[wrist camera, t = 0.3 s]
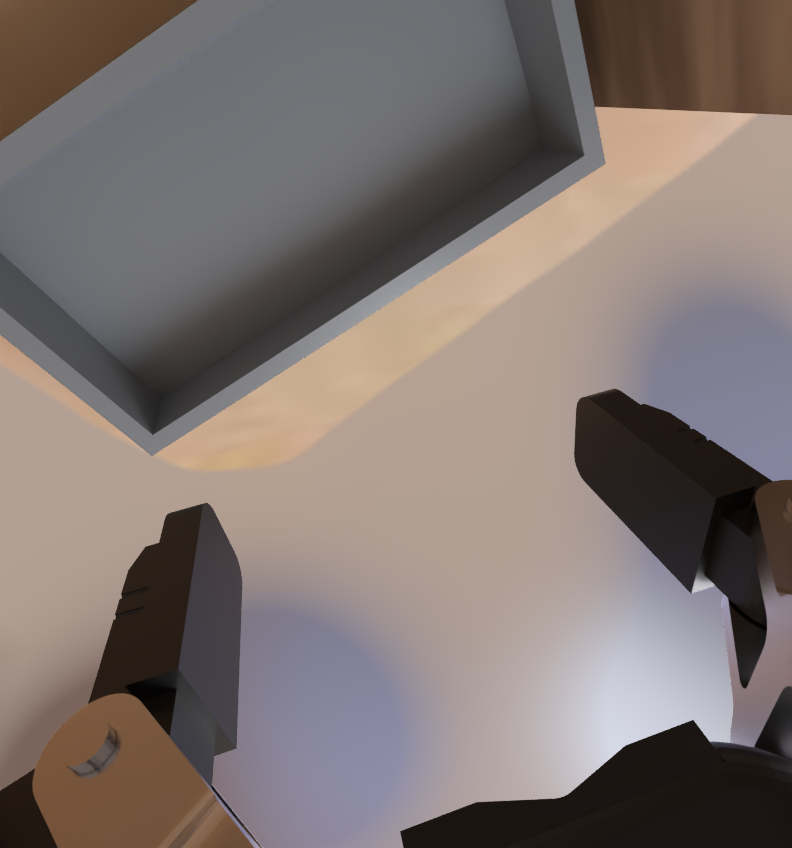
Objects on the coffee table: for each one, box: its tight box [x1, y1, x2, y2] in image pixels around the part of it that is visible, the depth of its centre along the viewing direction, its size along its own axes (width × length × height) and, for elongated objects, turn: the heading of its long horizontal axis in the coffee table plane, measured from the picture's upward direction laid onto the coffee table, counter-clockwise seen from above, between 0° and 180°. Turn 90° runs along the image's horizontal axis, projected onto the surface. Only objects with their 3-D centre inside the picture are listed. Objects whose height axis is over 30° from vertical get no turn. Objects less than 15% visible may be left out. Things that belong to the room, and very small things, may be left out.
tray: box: [0, 0, 605, 456], centre depth 24 cm, size 29×14×5 cm, turn 118°
